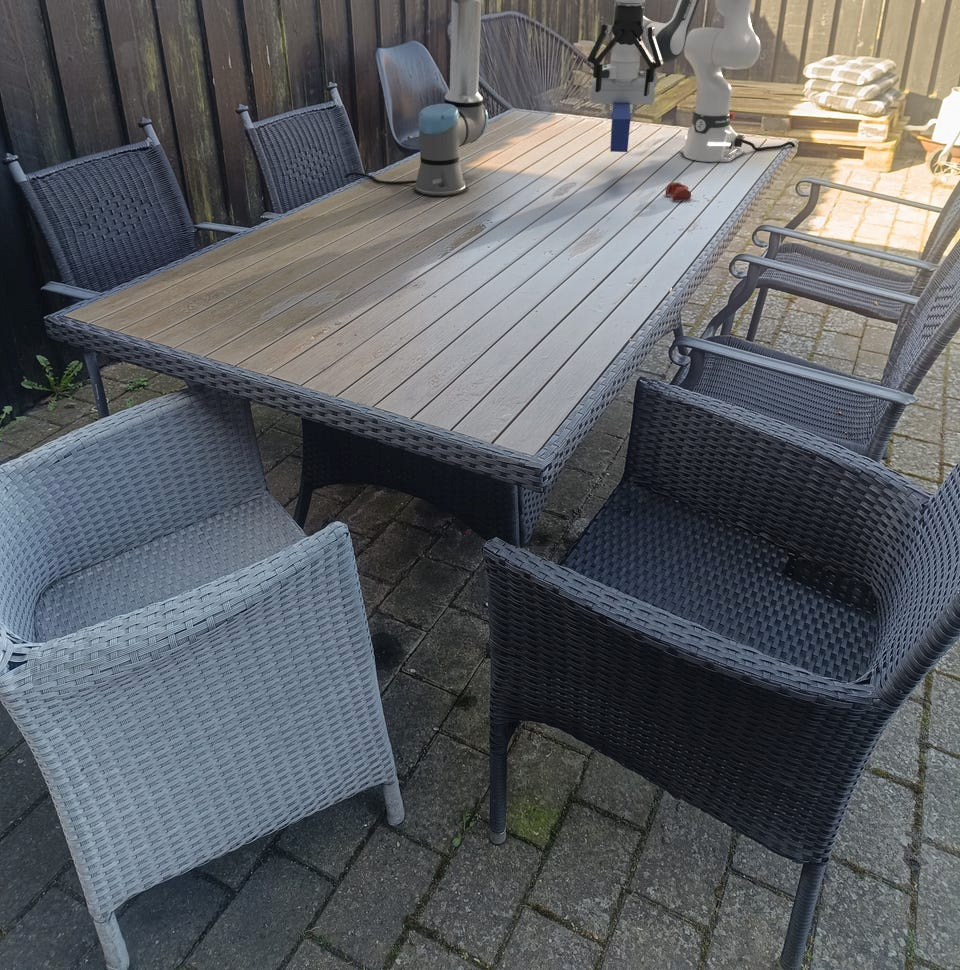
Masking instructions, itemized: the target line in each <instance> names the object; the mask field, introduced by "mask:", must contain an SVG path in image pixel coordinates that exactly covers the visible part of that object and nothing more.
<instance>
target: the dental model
mask: <svg viewBox="0 0 960 970" xmlns="http://www.w3.org/2000/svg"><path fill="white" fill-rule="evenodd" d="M665 196H672V197H671V200H672V201H673V202H674V201H685V200H686V201H687V200H691V198H692V193H691V191H690V189H689V186H687V185H685V184H682V183H681V182H678V181H677V182H675V181H673V182H671V183H669V184H668V185H667V187H666V188H665Z"/></svg>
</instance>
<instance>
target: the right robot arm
mask: <svg viewBox="0 0 960 970" xmlns="http://www.w3.org/2000/svg"><path fill="white" fill-rule="evenodd" d="M752 2H753V0H714V6H715V8H716V10H717V12H718V13H719V14H720V15H721V16H722V17H723V20H724V26H723V28H721V27H720V28H719V27H712V26H710V27H709V26H703V27H696V28H692V29H691V30H690V27H691V24H692V21H693V19H694V17H695V14H696V11H697V8H698V5H699V3H700V0H678V1H677V4H676V6H675V9H674V11H673V14H672V17H671V19H670V20H669V21H668V22H666V23H665V22H659V21H656V20H655V21H653V20H652V19H649V18H647V17H646V16H645V15H644V18H643V27H651V26H654V27H655V38H656V41H657V44H658V48H659V51H660V54H661V57H662V60H663V63H666V64H668V63H672V62H675V61H676V60H677V59H678V58H679V57H680V56H681V54H682V53H683V54H684V57H685V59H686V60H687V61H688V63H689V64H690V66H691V67H692V70H693V72H694V75H695V79H696V99H695V107H694V111H693V113H692V117H691V124H692V125H691V126H689V127H688V130H687V134H686V135H685V138H684V139H685V143H684V147H683V148H681V149H680V153H681V154H683V157H685V158H686V159H689V160H692V161H697V162H706V163H708V162H709V163H714V162H719V163H720V162H721V163H729V162H731V161H732V160H735V159H736V158H738V157H740V156H741V155H742V154H743V153H744V150H743V149H742V146H743V144H745V145H748V146H750V147H751V148H752V150H754V151H758V152H759V151H760V152H761V151H768V150H778V149H782V148H785V147H788V146H791V147H793V148H795V147H796V144H795V143H794V142H793V141H787V142H784V143H782V144H778V145H771V146H770V145H769V146H762V147H757V146H756V145H755V144H754V143H753V142H751V141H748V140H746V139H744V137H745V135H743V134H737V132H736V131H735V130H734V128H733V127H732V126H731V125H730V124H731V120H734V119H735V116H736V114H735V112H730V106H731V100H732V94H733V89H732V86H731V84H730V82H729V81H728V80H726V78H725V77H724V76H723V73H722V69H727V70H734V71H735V70H744V69H745V70H747V69H750V68H752V67H753V66H754V65H755V63H756V62H757V61H758V59H759V57H760V55H761V50H762V49H761V48H762V47H761V41H760V39H759V37H758V35H757V34H756V33H755V30H754V28H753V24H752V21H751V7H752ZM689 30H690V31H689ZM614 37H615V36H614V34H613V33H612V36H611V40H612V39H613V38H614ZM640 38H641V39H642V41H643V43H644V45H645V47H646V48H647V50H648V52H649V53H650V55H651V57H652V58H653V59H654V56H653V53H652V50H651V46H650V43H649V40H648V36H646V34H645V33H644V32H643V34H642V35H641V36H640ZM641 56H642V55H641V53H640V51H639V50H638V48H637V47H636V46H635V44H633V45H627V44H623V45H621V44H619V43H617V44H616V45H615V46H614V47H613V48H612V49H611V56H610V60H609V63H608V64H605V65H603V69H602V82H601V91H599V92H595V90H596V78H594V77H593V79H592V81H591V85H590V89H589V94H588V95H589V97H588V101H589V102H590V104H594V105H604V109H605V112H606V113H607V120H612V114H613V111H610V109H609V108H610V106H611V105H613V103H614V102H615V103H630V106H631V105H632V110H631V111H630V121H633V120H634V119H633V118H634V114H635V113H636V111H637V110H638V106H639V105H640V106H652V105H653V104H654V103H655V97H656V96H655V95H656V92H655V91H656V87H657V85H658V79H659V78H658V75H657V74H656V73H655V79H654V81H653V82H650V90H649V95H648V96H644V89H645V80H646V71H644V70H643V71H640V57H641Z"/></svg>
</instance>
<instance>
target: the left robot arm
mask: <svg viewBox="0 0 960 970" xmlns="http://www.w3.org/2000/svg"><path fill="white" fill-rule="evenodd" d="M482 2H483V0H451V7H450V8H451V10H450V53H449V54H450V56H449V57H450V59H449V61H450V63H449V90H448V92H447V93H446V94H445V95H444V103H436V104H430V105H428V106H425V107H424V108H422V109H421V110H420V112H419V114H418V126H417V127H418V134H419V135H418V136H419V138H418V139H419V157H420V158H419V159H420V161H419V162H420V164H419V168H418V172H417V176H416V179H415V180H395V181H392V180H381V179H378V178H376V177H375V176H373V175H372V174H368V173H364V172H359V171H350V172H348V173H346V174H345V175H344V176H343V178H345V179H346V178H348V177H350V176H355V175H357V176H360V177H365V178H368V179H372V181H374V182H375V183H378V184H383V185H409V184H411V185H412V184H415V192H417V193H418V194H420V195H424V196H430V197H450V196H455V195H459V194H461V193H463V192H464V191H466V181H465V179H464V176H463V172H462V169H461V165H460V148H462V147H464V146H466V145H468V144H472V143H474V142H476V141H478V139H480V138H481V137H483V136H484V134H485V133H486V131H487V129H488V125H489V114H488V110H487V109H486V108H485V107H486V106H485V105H484V103H483V102H484V98H483V96H482V95H481V94H480V92H479V78H480V77H479V76H480V55H481V54H480V51H481V49H480V48H481V29H482V28H481V25H482V24H481V23H482ZM615 2H616V3H617V4H616V5H615V6H614V17H613V24H609V23H604V24H602V25H601V26H600V27H601V28H600V33H599V35H598V38H597V39H596V41H595V43H594V45H593V47H592V48H591V51H590V53H589V55H588V56H587V59H586V61H587V62H588V63H591V64H592V65H593V69H592V70H593V71H592V72H593V73H592V77H593V79H594V78H596V90H595V92H599V91H601V82H602V69H603V66H604V65H603V63H601V62H602V61H603V60H604V59H605V58H606V57H607V55H608V54H609V53H610V52H612V48H613V47H614V46H615V45H616V44H617V43H619V44H621V45H623V44H627V45H633V44H635V46H636V47H637V48H638V50H639V51H640V53H641V55H640V56H641V57H642V58H643V60H644V61H645V63H646V64H647V67H648V68H646V70H645V72H646V80H645V89H644V96H648V95H649V90H650V82H653V81H654V79H655V74H656V69H658V68H661V67H662V66H663V65H664V62H663V60H662V57H661V54H660V51H659V48H658V44H657V41H656V38H655V27H654V26H651V27H643V18H644V16H645V6H644V4H645V3H646V0H615ZM610 32H612V34H614V36H615V37H614V38H613V39H612V38H611V40H610V42H609V43H608V44H607V45H606V46H605V48H604V49H603V50H602V51H601V52H600V54H599V55H598V56H597V54H598V53H599V51H600V49H601V47H602V45H603V44H604V41H605V39H606V37H607V35H608V34H610ZM643 32H644V33H645V34H646V36H648V40H649V43H650V46H651V50H652V53H653V56H654V58H652V57H651V55H650V53H649V52H648V50H647V48H646V47H645V45H644V43H643V41H642V39H641V38H640V36H641V35H642V34H643ZM596 56H597V57H596ZM369 175H370V176H369Z"/></svg>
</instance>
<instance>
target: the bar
mask: <svg viewBox="0 0 960 970" xmlns="http://www.w3.org/2000/svg"><path fill="white" fill-rule="evenodd" d="M612 112H613V114H612V119H611V125H610V150H609V152H611V153H628V150H629V139H630V127H631V120H630V113H631V105H630V103H615V102H614V103H613V104H612Z"/></svg>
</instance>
